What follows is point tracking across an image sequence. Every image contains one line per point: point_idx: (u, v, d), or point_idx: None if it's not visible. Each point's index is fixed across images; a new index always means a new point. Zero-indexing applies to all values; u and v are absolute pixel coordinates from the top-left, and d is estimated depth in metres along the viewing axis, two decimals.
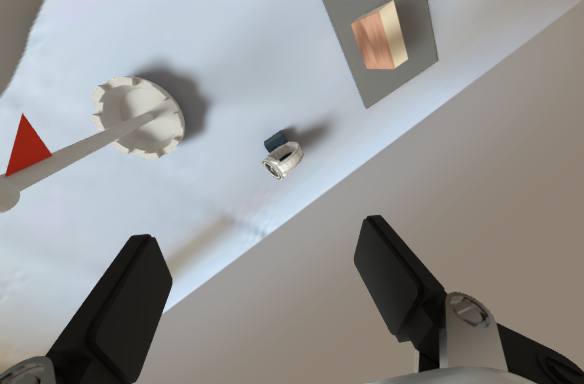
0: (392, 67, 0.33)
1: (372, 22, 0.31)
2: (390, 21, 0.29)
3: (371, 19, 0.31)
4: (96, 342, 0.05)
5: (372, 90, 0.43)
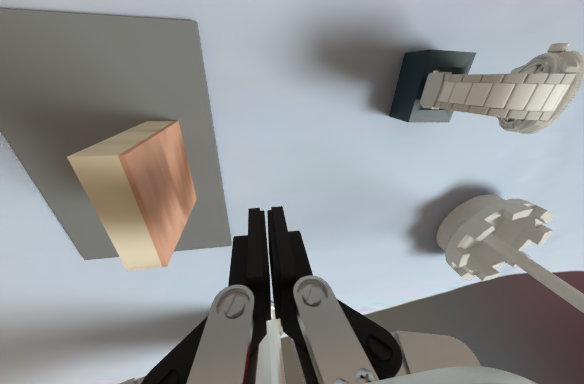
0: (127, 158, 0.11)
1: (172, 237, 0.16)
2: (134, 246, 0.13)
3: (174, 241, 0.16)
4: (269, 277, 0.07)
5: (171, 62, 0.16)
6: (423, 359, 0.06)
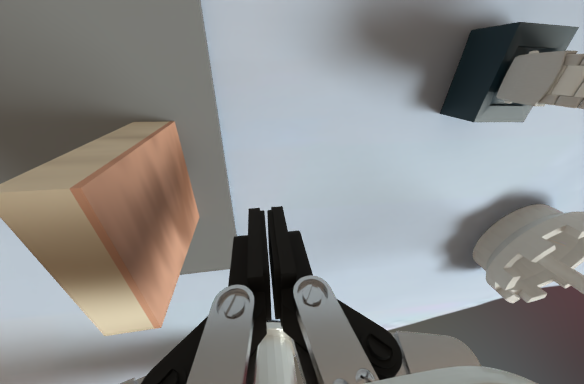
0: (88, 192, 0.07)
1: (168, 281, 0.11)
2: (112, 309, 0.09)
3: (171, 285, 0.12)
4: (269, 277, 0.07)
5: (163, 41, 0.12)
6: (423, 359, 0.06)
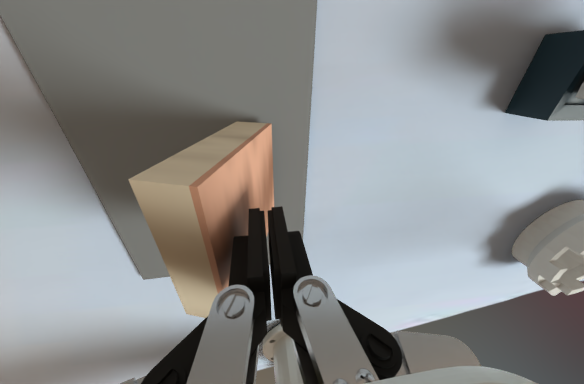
0: (202, 191, 0.07)
1: None
2: (197, 294, 0.10)
3: None
4: (269, 277, 0.07)
5: (278, 47, 0.13)
6: (423, 359, 0.06)
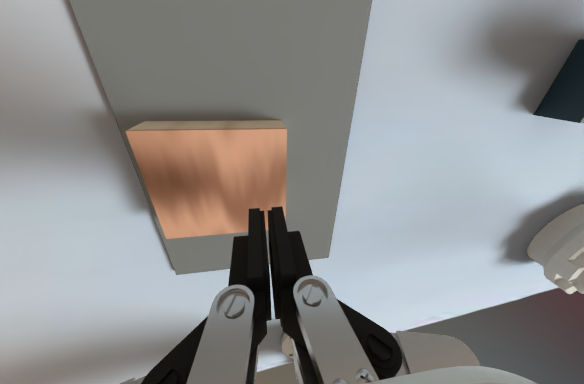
0: (131, 135, 0.12)
1: (190, 227, 0.15)
2: None
3: (192, 231, 0.16)
4: None
5: (330, 49, 0.13)
6: (423, 359, 0.06)
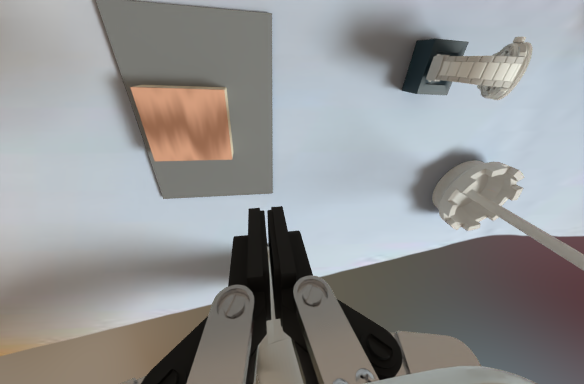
0: (133, 90, 0.21)
1: (170, 153, 0.25)
2: None
3: (171, 156, 0.25)
4: (269, 277, 0.07)
5: (250, 43, 0.22)
6: (423, 359, 0.06)
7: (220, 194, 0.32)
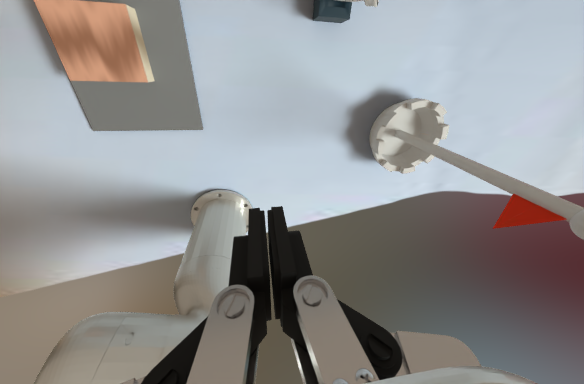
0: (36, 0, 0.23)
1: (83, 72, 0.26)
2: None
3: (85, 76, 0.27)
4: None
5: None
6: (423, 359, 0.06)
7: (149, 128, 0.33)
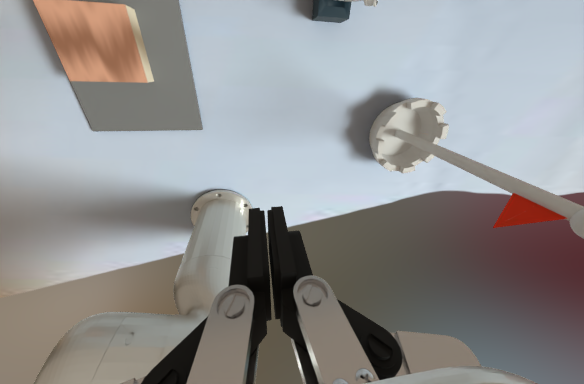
0: (35, 1, 0.23)
1: (83, 73, 0.26)
2: None
3: (85, 76, 0.27)
4: (269, 277, 0.07)
5: None
6: (423, 359, 0.06)
7: (149, 128, 0.33)
